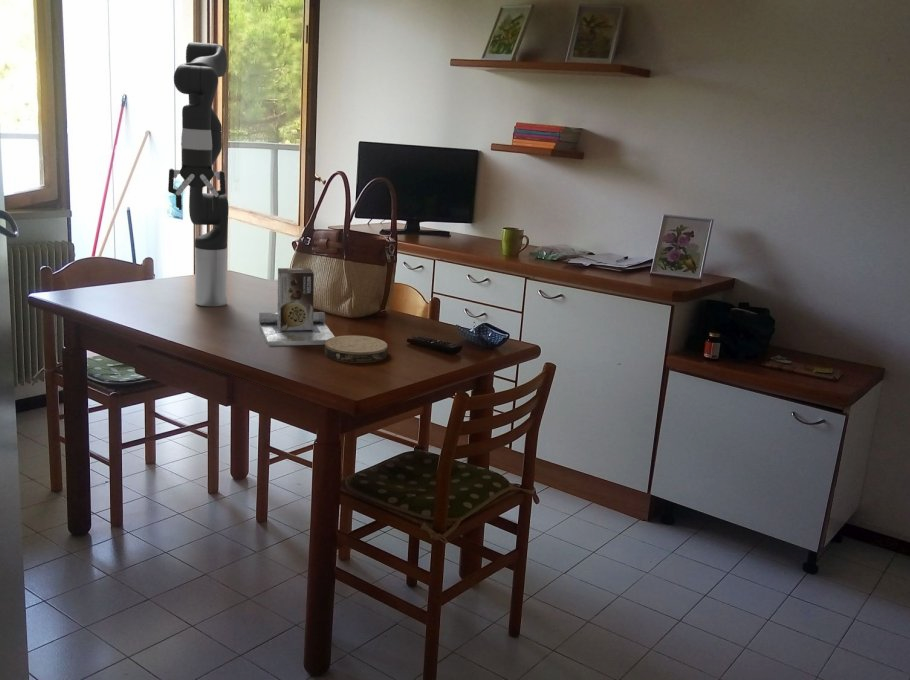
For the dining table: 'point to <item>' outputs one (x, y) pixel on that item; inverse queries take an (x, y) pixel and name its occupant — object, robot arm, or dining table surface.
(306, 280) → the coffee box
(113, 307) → the dining table surface
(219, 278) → the robot arm
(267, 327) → the hinge plate
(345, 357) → the beige tambourine
